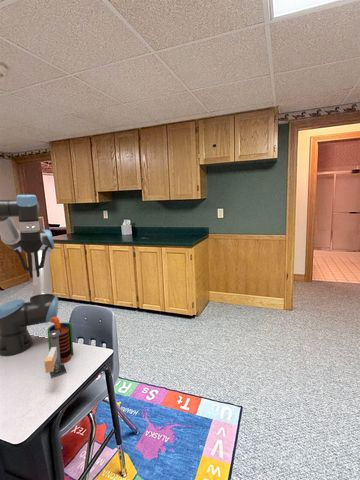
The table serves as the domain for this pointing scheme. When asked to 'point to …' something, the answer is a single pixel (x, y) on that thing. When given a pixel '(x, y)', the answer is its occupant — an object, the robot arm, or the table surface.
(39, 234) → the robot arm
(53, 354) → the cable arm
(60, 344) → the motor
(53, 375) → the post
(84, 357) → the table surface
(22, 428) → the table surface
